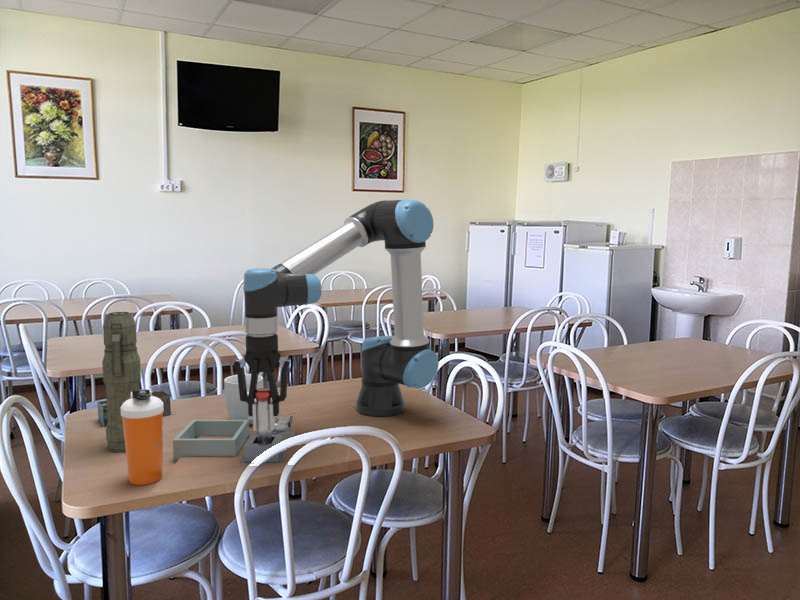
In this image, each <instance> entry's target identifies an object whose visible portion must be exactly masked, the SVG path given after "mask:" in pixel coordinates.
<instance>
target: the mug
mask: <svg viewBox="0 0 800 600" xmlns="http://www.w3.org/2000/svg"><path fill="white" fill-rule="evenodd" d="M245 379H246V388H247V395H249V388H250V382H251V373H245ZM223 381H224V388H223V389H224V399H225V401H224V402H225V407H226V411H227V415H228V417H229V420H249V426H251V425H253V416H249V414H248V403H247V402H245V401H241V400H240V395H239V385H238V376H237V374H235V375H230V376H227V377H225V378H224V379H223ZM260 388H265V387H264V377H263V376H261V375H259V374H258V381H257V388H256V389H260ZM255 401H256V399H255V400H254V402H255Z"/></svg>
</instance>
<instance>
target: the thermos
mask: <svg viewBox="0 0 800 600" xmlns="http://www.w3.org/2000/svg"><path fill="white" fill-rule="evenodd" d="M102 333H103V336H102V337H103V345H104V349H103V350H104V352H103V353H104V355H103V360H102V364H101V365H102V381H103V383H104V385H105V393H106V396H105V397H106V398H105V401H107V417H108V423H107V426H106V427H105V436H106V437H105V438H106V442H107V450H108V451H109V452H112V453H122V452H123V453H126V449H125V440H124V430H123V421H122V417H121V406H122V404H123V403H124V402H125V401H126V400H128V399H131V396H130V394H131V392H132V391H140V390H141V389H140V382H141V380H142V372H141V371H142V370H141V358H140V356H139V352H138V347H137V341H138V339H137V323H136V320H135V318H134V316H133V313H132V312H131V313H130V312H129V311H114V312H109V313H108V314H106V315H105V317H104V321H103V324H102Z"/></svg>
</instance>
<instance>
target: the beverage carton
mask: <svg viewBox="0 0 800 600" xmlns="http://www.w3.org/2000/svg"><path fill="white" fill-rule="evenodd" d="M151 395H152V396H154V397H157V398H159V399H161V401H162V402H163V407H164V411H163V417H165V416H170V415H172V413H171V412H172V411H171V410H172V409H171V398H170V397H171V396H170V395H169V394H167V393H166V392H165V391H163V390H160V391H151ZM97 417H98V422H100V424H101V423H102V424H101V425H102V426H103V428H106V426H107V423H108V417H107V400H102V401H98V402H97Z"/></svg>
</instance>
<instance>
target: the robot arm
mask: <svg viewBox="0 0 800 600" xmlns="http://www.w3.org/2000/svg"><path fill="white" fill-rule="evenodd" d="M433 231H434V217H433V214H432V212H431V211H430V208H428V206H426V204H425V203H423V202H422V201H420V200H415V199H407V198H406V199H396V200H395V199H393V200H388V199H387V200H385V199H384V200H377V201H375V202H373V203H371V204H368V205H367V206H365V207H363V208H362V209H360V210H358V211H357V212H355V213H353V214H351V215H350V216H348V217H346V219H344V222H343V224H342V225H340V226H339V227H337V228H336V229H333V230H332V231H330V232H329V233H328V234H326V235H324V236H322V237H320V238H319V239H317V240H316V241H315V242H313V243H311V244H309V245H307V246H306V247H304V248H303V249H301V250H300V251H298V252H297V253H295V254H294V255H292V256H290V257H288V258H287V259H285V260H283V261H282V262H280V263H279V264H277V265H275V266H274V267H271V268H263V267H262V268H249V269H247V270H245V272H244V274H243V287H242V289H243V297H244V324H245V325H244V333H246V336H245V354H244V356H243V358H241V359H239V358H237V359H236V360H235V361H233V366H234V368H235V371H236V375H237V376H238V385H239V395H240V400H241V401H245V402H247V403H248V414H249V416H253V424H252V430H253V432H254V431H255V432H257V406H256V401H255V402H254V400H255V396H254V391H255V390H256V388H257V381H258V375H259V374H261V373H264V374H266V375H265V376H266V377H267V381H268V388H270V392H271V397H272V398H271V403H270V404H269V407H270V431H273V430H274V428H275V416H279V414H280V402H284V401H285V400H286V399H287V394H288V391H287V390H288V378H289V377H288V374H289V373H288V371H289V367H290V366H291V362H292V361H291V359H290V358H284V357H281V354H280V352H279V336H278V334H277V332H278V331H279V329H278V327H279V326H278V325H279V324H278V308H283V307H293V306H304V305H305V306H308V305H311V304H316V303H317V302H318V301H320V299H321V297H322V293H323V292H322V283H321V280H320V278H319V277H318V276H317V275H316V274H318V273H319V272H321V271H323V269H326V268H327V267H329V266H331V264H333V263H335V262H337V261H338V260H339V259H341V258H342V257H344V256H345V255H347V254H349V253H351V252H352V251H353V250H355V249H356V248H358V247H359V248H364V247H366V246H368V245H369V244H371V243H375V242H380V241H384V250H385V251H387V253H389V255H390V265H391V266H390V267H391V289H392V308H393V310H392V311H393V327H394V328H393V329H394V335H382V336H381V335H380V336H379V335H378V336H372V337H367V338H365V339H364V340H363V341H362V345H361V350H360V351H361V386H360V389H359V392H358V396H357V399H356V403H355V404H356V407H355V409H356V411H357V412H358V413H359V414H362V415H366V416H370V417H386V416H387V417H388V416H394V415H398V414H401V413H402V412H404V411H405V400H404V397H403V394H402V391H401V387H400V385H403V386H405V387H407V388H414V389H423V388H425V387H427V386H428V385H429V384H431V383H432V382H433V380H434V378H435V377H436V376H437V373H438V370H439V357H438V355H437V354H436V353H435V352H434V351H433V350H431V349H430V348H431V347H430V339H429V338H428V337H427V336H426V335H425V327H424V325H425V323H424V303H423V301H424V299H423V279H422V276H423V275H422V255H421V254H422V252H423V251H424V250H425V249H426V248H427V246H426V241H427V240H429V238H430V237H431V236H432V233H433ZM278 363H279V367H280V368H281V372H280V374H281V375H280V387H279V388H280V389H279V390H278V386H277V380H276V376H275V369H274V368H275V367H276V366H277V364H278ZM246 364H247V366H248V367H249V368H250V369H251V371H250V372H251V373H250V374H251V382H250V388H249V395H247V388H246V379H245V374H246V372H245V367H246ZM279 392H280V393H279Z"/></svg>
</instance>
